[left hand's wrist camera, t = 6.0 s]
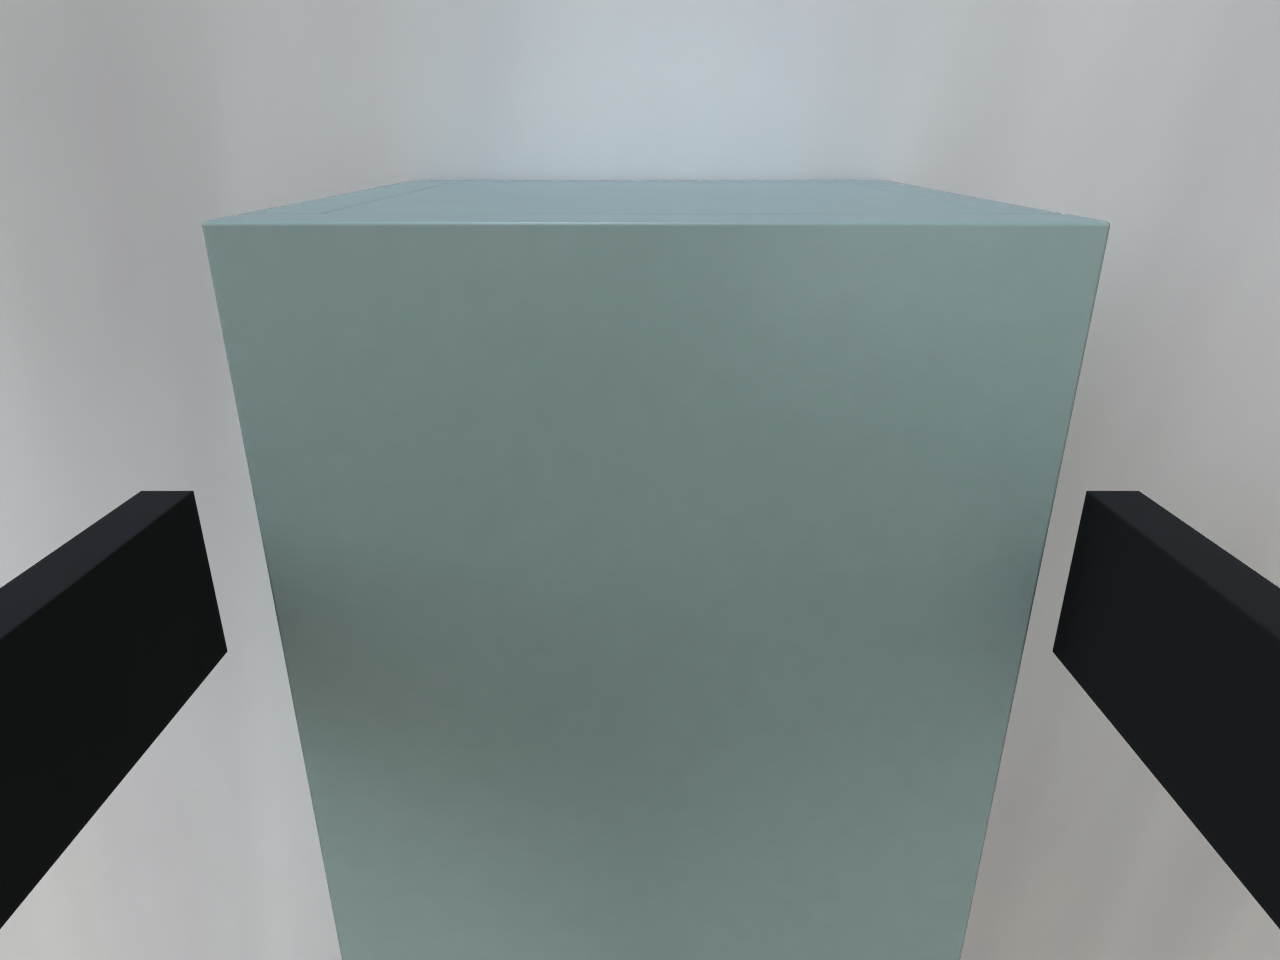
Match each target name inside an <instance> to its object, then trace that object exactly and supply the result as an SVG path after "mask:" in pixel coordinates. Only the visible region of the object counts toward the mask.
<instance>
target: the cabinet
mask: <svg viewBox="0 0 1280 960" xmlns="http://www.w3.org/2000/svg"><path fill="white" fill-rule="evenodd" d="M202 226H203V232H204V237H205V242H206V247H207V253H208V258H209V263H210V268H211V274H212V279H213V284H214V289H215V295H216V300H217V305H218V310H219V316H220V321H221V326H222V331H223V337H224V342H225V347H226V352H227V358H228V363H229V368H230V373H231V379H232V384H233V389H234V394H235V400H236V405H237V410H238V415H239V421H240V426H241V431H242V436H243V442H244V447H245V452H246V457H247V463H248V468H249V473H250V478H251V484H252V489H253V494H254V499H255V505H256V510H257V515H258V520H259V526H260V531H261V536H262V541H263V547H264V552H265V557H266V562H267V568H268V573H269V578H270V583H271V588H272V594H273V599H274V604H275V609H276V615H277V620H278V625H279V630H280V636H281V641H282V646H283V651H284V657H285V662H286V667H287V672H288V678H289V683H290V688H291V693H292V699H293V704H294V709H295V714H296V720H297V725H298V730H299V735H300V741H301V746H302V751H303V756H304V762H305V767H306V772H307V777H308V783H309V788H310V793H311V798H312V804H313V809H314V814H315V819H316V825H317V830H318V835H319V840H320V846H321V851H322V856H323V861H324V867H325V872H326V877H327V882H328V888H329V893H330V898H331V903H332V909H333V914H334V919H335V924H336V930H337V935H338V940H339V945H340V951H341V956H342V960H960V957H961V952H962V947H963V942H964V937H965V932H966V927H967V922H968V918H969V913H970V908H971V903H972V898H973V893H974V888H975V883H976V878H977V874H978V869H979V864H980V859H981V854H982V849H983V844H984V839H985V834H986V830H987V825H988V820H989V815H990V810H991V805H992V800H993V795H994V790H995V786H996V781H997V776H998V771H999V766H1000V761H1001V756H1002V751H1003V746H1004V742H1005V737H1006V732H1007V727H1008V722H1009V717H1010V712H1011V707H1012V702H1013V698H1014V693H1015V688H1016V683H1017V678H1018V673H1019V668H1020V663H1021V658H1022V654H1023V649H1024V644H1025V639H1026V634H1027V629H1028V624H1029V619H1030V614H1031V610H1032V605H1033V600H1034V595H1035V590H1036V585H1037V580H1038V575H1039V570H1040V566H1041V561H1042V556H1043V551H1044V546H1045V541H1046V536H1047V531H1048V526H1049V522H1050V517H1051V512H1052V507H1053V502H1054V497H1055V492H1056V487H1057V483H1058V478H1059V473H1060V468H1061V463H1062V458H1063V453H1064V448H1065V443H1066V439H1067V434H1068V429H1069V424H1070V419H1071V414H1072V409H1073V404H1074V399H1075V395H1076V390H1077V385H1078V380H1079V375H1080V370H1081V365H1082V360H1083V355H1084V351H1085V346H1086V341H1087V336H1088V331H1089V326H1090V321H1091V316H1092V311H1093V307H1094V302H1095V297H1096V292H1097V287H1098V282H1099V277H1100V272H1101V267H1102V263H1103V258H1104V253H1105V248H1106V243H1107V238H1108V233H1109V228H1110V224H1109V223H1108V222H1106V221H1101V220H1096V219H1091V218H1085V217H1080V216H1074V215H1063V214H1060V213H1055V212H1050V211H1044V210H1039V209H1034V208H1028V207H1023V206H1018V205H1012V204H1007V203H1002V202H996V201H991V200H986V199H980V198H975V197H970V196H964V195H959V194H954V193H948V192H943V191H938V190H932V189H927V188H922V187H916V186H911V185H906V184H901V183H896V182H891V181H410V182H405V183H399V184H394V185H389V186H384V187H379V188H374V189H368V190H363V191H358V192H353V193H348V194H343V195H337V196H332V197H327V198H322V199H317V200H312V201H306V202H301V203H296V204H291V205H286V206H281V207H275V208H270V209H265V210H260V211H255V212H250V213H245V214H239V215H234V216H229V217H224V218H219V219H213V220H208V221H205V222H203V225H202Z"/></svg>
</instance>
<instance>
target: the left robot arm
mask: <svg viewBox="0 0 1280 960" xmlns="http://www.w3.org/2000/svg"><path fill="white" fill-rule="evenodd" d="M226 652H227V647H226V642H225V638H224V633H223V628H222V624H221V619H220V614H219V609H218V605H217V600H216V595H215V591H214V586H213V581H212V576H211V572H210V567H209V562H208V558H207V553H206V548H205V544H204V539H203V534H202V529H201V525H200V520H199V515H198V511H197V506H196V501H195V496H194V492H193V491H141V492H139V493H138V494H136V495H135V496H133V497H132V498H130V499H129V500H128V501H126V502H125V503H123V504H122V505H120V506H119V507H117V508H116V509H115V510H113V511H112V512H110V513H109V514H107V515H106V516H104V517H103V518H101V519H100V520H99V521H97V522H96V523H94V524H93V525H91V526H90V527H88V528H87V529H86V530H84V531H83V532H81V533H80V534H78V535H77V536H75V537H74V538H72V539H71V540H70V541H68V542H67V543H65V544H64V545H62V546H61V547H59V548H58V549H57V550H55V551H54V552H52V553H51V554H49V555H48V556H46V557H45V558H43V559H42V560H41V561H39V562H38V563H36V564H35V565H33V566H32V567H30V568H29V569H28V570H26V571H25V572H23V573H22V574H20V575H19V576H17V577H16V578H14V579H13V580H12V581H10V582H9V583H7V584H6V585H4V586H3V587H1V588H0V929H1V927H2V926H3V925H4V924H5V923H6V921H7V920H8V919H9V918H10V916H11V915H12V914H13V913H14V912H15V910H16V909H17V908H18V907H19V905H20V904H21V903H22V902H23V901H24V899H25V898H26V897H27V896H28V894H29V893H30V892H31V891H32V890H33V888H34V887H35V886H36V885H37V883H38V882H39V881H40V880H41V879H42V877H43V876H44V875H45V874H46V872H47V871H48V870H49V869H50V868H51V866H52V865H53V864H54V863H55V861H56V860H57V859H58V858H59V857H60V855H61V854H62V853H63V852H64V850H65V849H66V848H67V847H68V846H69V844H70V843H71V842H72V841H73V839H74V838H75V837H76V836H77V835H78V833H79V832H80V831H81V830H82V828H83V827H84V826H85V825H86V824H87V822H88V821H89V820H90V819H91V817H92V816H93V815H94V814H95V813H96V811H97V810H98V809H99V808H100V806H101V805H102V804H103V803H104V802H105V800H106V799H107V798H108V797H109V795H110V794H111V793H112V792H113V791H114V789H115V788H116V787H117V786H118V784H119V783H120V782H121V781H122V780H123V778H124V777H125V776H126V775H127V773H128V772H129V771H130V770H131V769H132V767H133V766H134V765H135V764H136V762H137V761H138V760H139V759H140V758H141V756H142V755H143V754H144V753H145V751H146V750H147V749H148V748H149V747H150V745H151V744H152V743H153V742H154V740H155V739H156V738H157V737H158V736H159V734H160V733H161V732H162V731H163V729H164V728H165V727H166V726H167V725H168V723H169V722H170V721H171V720H172V718H173V717H174V716H175V715H176V714H177V712H178V711H179V710H180V709H181V707H182V706H183V705H184V704H185V703H186V701H187V700H188V699H189V698H190V696H191V695H192V694H193V693H194V692H195V690H196V689H197V688H198V687H199V685H200V684H201V683H202V682H203V681H204V679H205V678H206V677H207V676H208V674H209V673H210V672H211V671H212V670H213V668H214V667H215V666H216V665H217V663H218V662H219V661H220V660H221V659H222V657H223V656H224V655H225V654H226ZM1053 652H1054V654H1055V655H1056V656H1057V657H1058V659H1059V660H1060V661H1061V662H1062V663H1063V665H1064V666H1065V667H1066V668H1067V670H1068V671H1069V672H1070V673H1071V674H1072V676H1073V677H1074V678H1075V679H1076V681H1077V682H1078V683H1079V684H1080V685H1081V687H1082V688H1083V689H1084V690H1085V692H1086V693H1087V694H1088V695H1089V696H1090V698H1091V699H1092V700H1093V701H1094V703H1095V704H1096V705H1097V706H1098V707H1099V709H1100V710H1101V711H1102V712H1103V714H1104V715H1105V716H1106V717H1107V718H1108V720H1109V721H1110V722H1111V723H1112V725H1113V726H1114V727H1115V728H1116V729H1117V731H1118V732H1119V733H1120V734H1121V736H1122V737H1123V738H1124V739H1125V740H1126V742H1127V743H1128V744H1129V745H1130V747H1131V748H1132V749H1133V750H1134V751H1135V753H1136V754H1137V755H1138V756H1139V758H1140V759H1141V760H1142V761H1143V762H1144V764H1145V765H1146V766H1147V767H1148V769H1149V770H1150V771H1151V772H1152V773H1153V775H1154V776H1155V777H1156V778H1157V780H1158V781H1159V782H1160V783H1161V784H1162V786H1163V787H1164V788H1165V789H1166V791H1167V792H1168V793H1169V794H1170V795H1171V797H1172V798H1173V799H1174V800H1175V802H1176V803H1177V804H1178V805H1179V806H1180V808H1181V809H1182V810H1183V811H1184V813H1185V814H1186V815H1187V816H1188V817H1189V819H1190V820H1191V821H1192V822H1193V824H1194V825H1195V826H1196V827H1197V828H1198V830H1199V831H1200V832H1201V833H1202V835H1203V836H1204V837H1205V838H1206V839H1207V841H1208V842H1209V843H1210V844H1211V846H1212V847H1213V848H1214V849H1215V850H1216V852H1217V853H1218V854H1219V855H1220V857H1221V858H1222V859H1223V860H1224V861H1225V863H1226V864H1227V865H1228V866H1229V868H1230V869H1231V870H1232V871H1233V872H1234V874H1235V875H1236V876H1237V877H1238V879H1239V880H1240V881H1241V882H1242V883H1243V885H1244V886H1245V887H1246V888H1247V890H1248V891H1249V892H1250V893H1251V894H1252V896H1253V897H1254V898H1255V899H1256V901H1257V902H1258V903H1259V904H1260V905H1261V907H1262V908H1263V909H1264V910H1265V912H1266V913H1267V914H1268V915H1269V916H1270V918H1271V919H1272V920H1273V921H1274V923H1275V924H1276V925H1277V926H1278V927H1279V929H1280V588H1279V587H1277V586H1276V585H1274V584H1273V583H1271V582H1270V581H1268V580H1267V579H1266V578H1264V577H1263V576H1261V575H1260V574H1258V573H1257V572H1255V571H1254V570H1252V569H1251V568H1250V567H1248V566H1247V565H1245V564H1244V563H1242V562H1241V561H1239V560H1238V559H1237V558H1235V557H1234V556H1232V555H1231V554H1229V553H1228V552H1226V551H1225V550H1223V549H1222V548H1221V547H1219V546H1218V545H1216V544H1215V543H1213V542H1212V541H1210V540H1209V539H1208V538H1206V537H1205V536H1203V535H1202V534H1200V533H1199V532H1197V531H1196V530H1194V529H1193V528H1192V527H1190V526H1189V525H1187V524H1186V523H1184V522H1183V521H1181V520H1180V519H1179V518H1177V517H1176V516H1174V515H1173V514H1171V513H1170V512H1168V511H1167V510H1165V509H1164V508H1163V507H1161V506H1160V505H1158V504H1157V503H1155V502H1154V501H1152V500H1151V499H1150V498H1148V497H1147V496H1145V495H1144V494H1142V493H1141V492H1139V491H1087V492H1086V496H1085V501H1084V506H1083V511H1082V515H1081V520H1080V525H1079V529H1078V534H1077V539H1076V544H1075V548H1074V553H1073V558H1072V562H1071V567H1070V572H1069V576H1068V581H1067V586H1066V591H1065V595H1064V600H1063V605H1062V609H1061V614H1060V619H1059V623H1058V628H1057V633H1056V638H1055V642H1054V647H1053Z"/></svg>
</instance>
